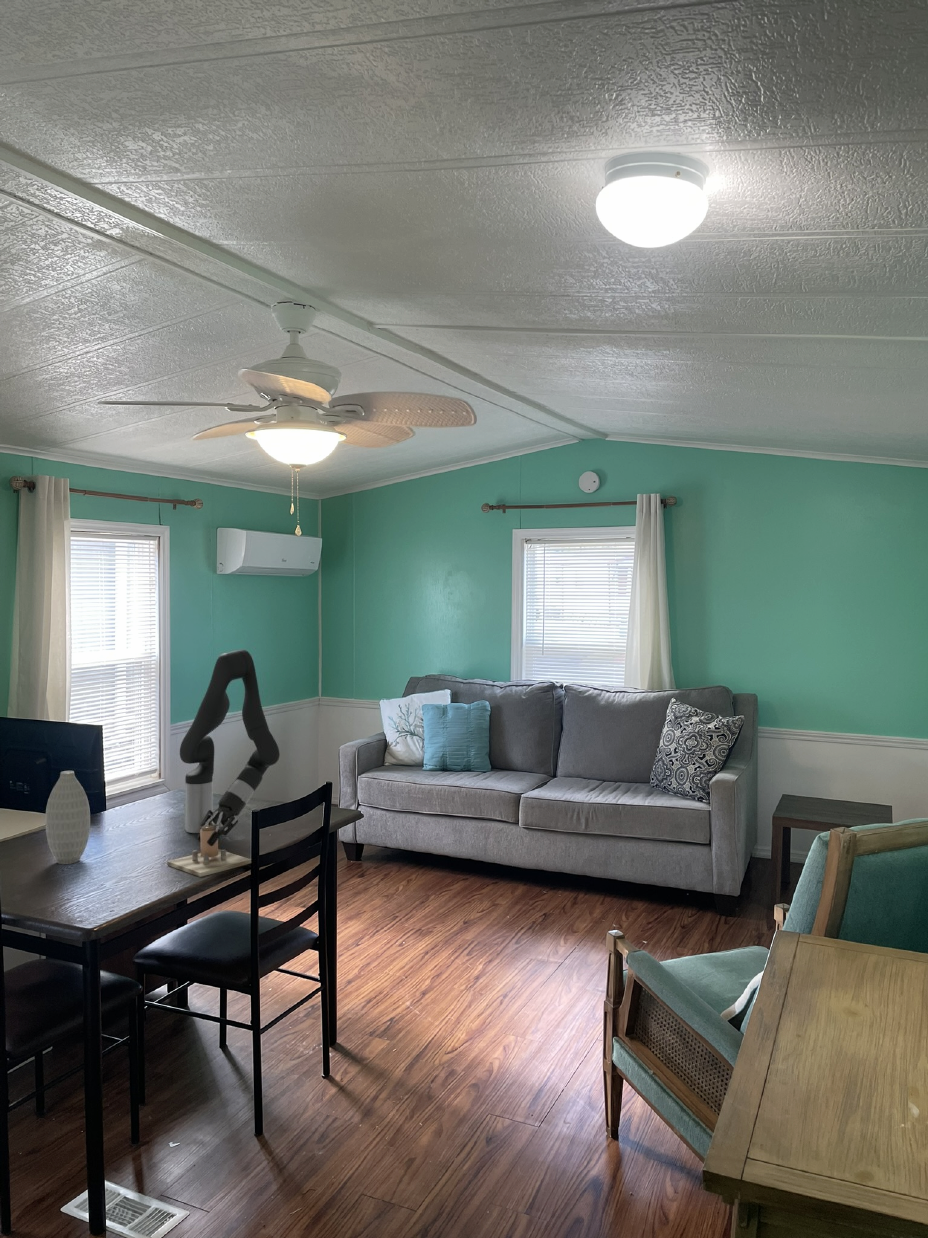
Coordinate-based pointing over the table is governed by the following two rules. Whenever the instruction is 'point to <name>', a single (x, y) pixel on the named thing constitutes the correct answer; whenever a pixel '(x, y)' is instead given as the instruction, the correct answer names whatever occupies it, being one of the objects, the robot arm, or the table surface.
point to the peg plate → (212, 862)
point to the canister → (204, 836)
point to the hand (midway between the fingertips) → (204, 842)
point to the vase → (67, 819)
